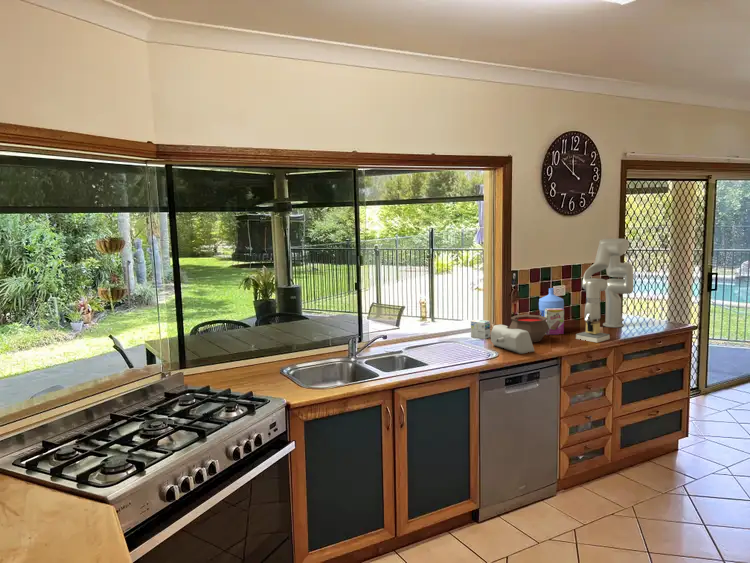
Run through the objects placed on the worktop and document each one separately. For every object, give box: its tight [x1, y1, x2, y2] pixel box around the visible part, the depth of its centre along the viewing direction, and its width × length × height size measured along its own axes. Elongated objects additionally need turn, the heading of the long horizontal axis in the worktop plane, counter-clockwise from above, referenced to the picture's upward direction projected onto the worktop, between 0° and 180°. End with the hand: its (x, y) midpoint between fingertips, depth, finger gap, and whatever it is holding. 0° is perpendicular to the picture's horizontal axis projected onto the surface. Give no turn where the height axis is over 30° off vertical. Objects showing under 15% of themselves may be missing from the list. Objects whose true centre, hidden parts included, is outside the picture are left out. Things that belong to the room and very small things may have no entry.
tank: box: [490, 324, 535, 355], centre depth 304 cm, size 25×16×12 cm, turn 26°
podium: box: [575, 330, 611, 343], centre depth 321 cm, size 13×14×3 cm
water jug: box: [538, 287, 565, 317], centre depth 346 cm, size 16×16×28 cm
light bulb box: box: [470, 319, 491, 340], centre depth 336 cm, size 11×7×11 cm, turn 47°
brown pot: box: [508, 311, 549, 343], centre depth 325 cm, size 24×24×16 cm
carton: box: [585, 320, 601, 334], centre depth 320 cm, size 5×7×7 cm
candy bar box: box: [545, 308, 565, 336], centre depth 336 cm, size 11×5×16 cm, turn 88°
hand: (592, 330), depth 320 cm, fingers closed on carton, 4 cm apart
